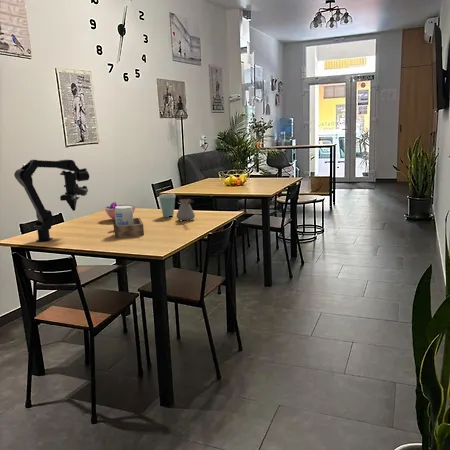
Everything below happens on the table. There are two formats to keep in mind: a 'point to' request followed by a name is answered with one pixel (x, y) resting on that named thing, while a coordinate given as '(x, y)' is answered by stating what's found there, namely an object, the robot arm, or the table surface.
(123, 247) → the table surface
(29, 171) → the robot arm
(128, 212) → the supplement tub
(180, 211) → the coffee pot
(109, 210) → the cell model
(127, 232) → the walnut crate
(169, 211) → the disposable coffee cup
